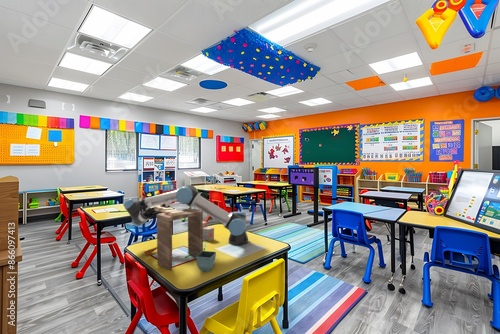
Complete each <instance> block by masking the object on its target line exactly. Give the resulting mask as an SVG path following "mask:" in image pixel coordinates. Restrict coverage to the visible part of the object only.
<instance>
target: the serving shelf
mask: <svg viewBox="0 0 500 334" xmlns="http://www.w3.org/2000/svg"><path fill="white" fill-rule="evenodd" d="M180 210H181V211H184V215H179V216H174V217H173V216H169V215H165V214H164V213H163V212H159V213H158V214H156V213H155V214H156V215H155V216H156V217H155V218H156V247H157V249H156V254H157V255H156V256H157V258H156V259H157V260H156V261H157V263H156V264H157V265H158V266H160V267H162V268H164V269H165V270H168V271H171V270H173V221H176V220H177V221H178V220H181V219H186V218H187V244H188V245H187V253H188V254H189V255H192V256H194V257H196V256H197V255H198V254H199V253H200V252H201V251H204V240H203V219H204V218H203V215H204V212H203V211H201V210H199V209H197V208H192V207H189V208H184V209H180Z"/></svg>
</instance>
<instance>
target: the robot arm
mask: <svg viewBox="0 0 500 334" xmlns="http://www.w3.org/2000/svg"><path fill="white" fill-rule="evenodd" d="M173 202H178V203H179V204H182V205H186V206H188V207H189V208H193V207H194V208H195V209H196V210H201V211H203V214H206V215H208V216H209V217H211V218H212V219H214V220H215V221H217V222H219V223H221V224H222V225H223V228H225V229H226V230H228V231H229V233H230V234H229V236H228V244H230V245H234V246H242V245H243V244H244V245H247V244H248V243H249V237H248V236H249V235H248V234H247V213H246V212H245V211H232V212H228V211H226V210H225V209H223V208H221V207H219V206H218V205H217V204H215V203H213V202H211V201H209V199H207V198H204V197H203V196H202V195H201V193H200V192H199V191H198V190H197V188H196V187H195V186H194V185H192V184H187V185H183V186H180V187H178V188H177V190H173V191H167V192H165V193H164V192H163V193H161V194H157V195H153V196H149V197H145V198H140V199H137V200H134V198H129V199H128V200H126V201H124V202H123V205H122V206H123V207H124V209H125V211H126V212H127V213H128V215H129V216H130V217H131V219H132V220H131V223H132V225H133V226H135V227H140V226H142V225H143V224H145V223H147V221H149V220H150V219H151V218H153V217H154V215H155V214H156V213H160V212H159V211H155V210H154V206H160V207H164V208H169V209H170V207H171V206H170V205H172V204H173ZM246 243H247V244H246Z"/></svg>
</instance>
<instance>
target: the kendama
mask: <svg viewBox="0 0 500 334" xmlns="http://www.w3.org/2000/svg"><path fill="white" fill-rule="evenodd" d="M155 251H157V246H156V247H153V248H150V249H147V250H145V251H144V256H145V257H146V256H147V257H148V256H149V255H151V254H152V253H154V252H155Z"/></svg>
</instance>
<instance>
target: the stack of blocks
mask: <svg viewBox="0 0 500 334" xmlns="http://www.w3.org/2000/svg"><path fill="white" fill-rule="evenodd" d="M213 240H215V228H214V227H211V226H209V225H208V222H207V221H203V241H206V242H209V241H213Z"/></svg>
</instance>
